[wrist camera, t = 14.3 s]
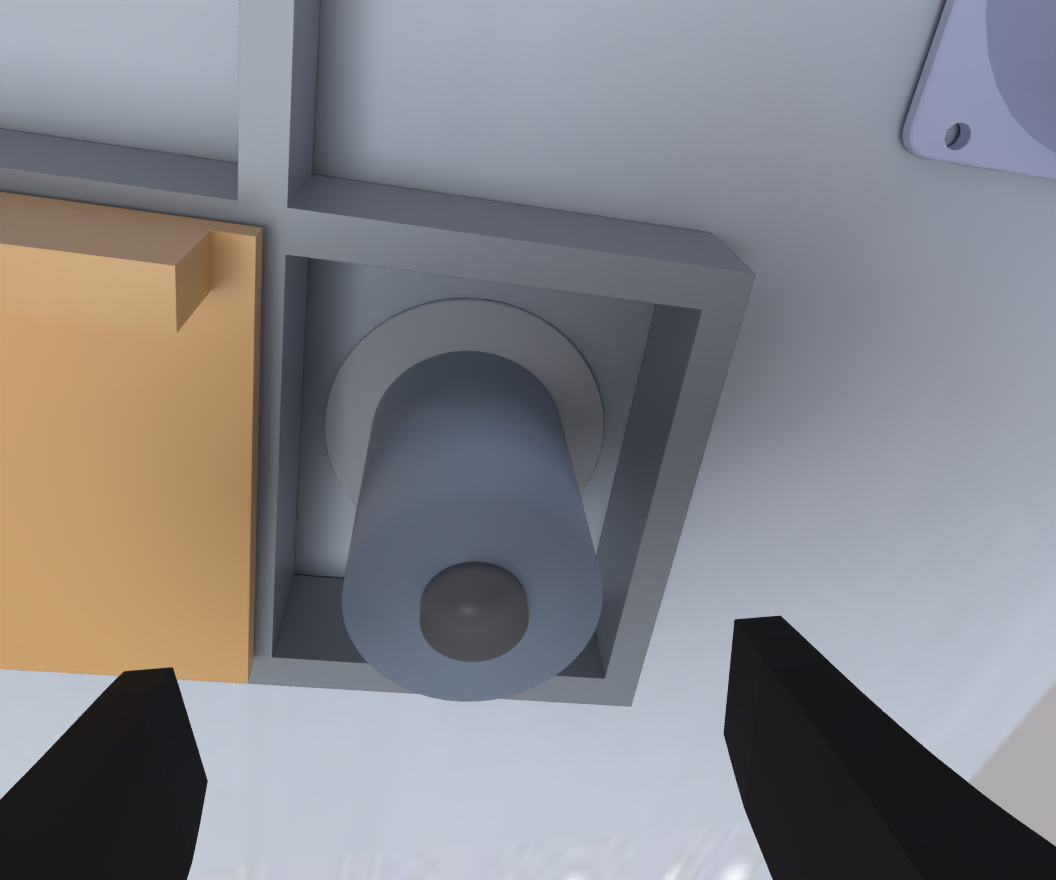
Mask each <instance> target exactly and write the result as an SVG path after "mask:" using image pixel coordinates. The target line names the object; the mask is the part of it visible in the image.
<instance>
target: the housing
mask: <svg viewBox="0 0 1056 880" xmlns="http://www.w3.org/2000/svg"><path fill="white" fill-rule="evenodd" d="M319 17H320V0H239V115H238V163H232V162H225V161H218V160H211V159H204V158H197V157H191V156H184V155H177V154H170V153H163V152H157V151H150V150H143V149H136V148H129V147H122V146H116V145H109V144H102V143H95V142H88V141H82V140H75V139H68V138H61V137H54V136H48V135H41V134H34V133H27V132H20V131H13V130H7V129H0V192H6V193H13V194H21V195H28V196H35V197H43V198H50V199H57V200H65V201H72V202H79V203H87V204H94V205H101V206H109V207H116V208H123V209H131V210H138V211H145V212H153V213H160V214H167V215H174V216H182V217H189V218H196V219H204V220H211V221H218V222H226V223H233V224H240V225H248V226H255V227H262V228H263V247H262V293H261V339H260V385H259V431H258V476H257V522H256V568H255V614H254V660H253V667H252V671H251V674H250V677H249V681H248V684H263V685H280V686H296V687H313V688H330V689H346V690H363V691H380V692H396V693H413V694H418V693H415V692H413V691H410V690H408V689H405V688H403V687H401V686H399V685H397V684H395V683H394V682H392V681H390V680H388V679H387V678H386V677H384V676H383V675H381V674H380V673H379V672H377V671H376V670H375V669H374V668H373V667H372V666H371V665H370V664H369V663H368V662H367V661H366V660H365V659H364V658H363V657H362V655H361V654H360V653H359V652H358V650H357V649H356V647H355V645H354V644H353V642H352V640H351V638H350V636H349V634H348V631H347V629H346V626H345V622H344V617H343V613H342V591H343V584H344V579H340V578H327V577H314V576H302V575H294V556H295V534H296V512H297V491H298V469H299V448H300V426H301V405H302V383H303V362H304V340H305V319H306V297H307V275H308V258H316V259H323V260H331V261H339V262H346V263H354V264H361V265H369V266H376V267H384V268H391V269H399V270H406V271H414V272H422V273H429V274H437V275H444V276H452V277H459V278H467V279H474V280H482V281H489V282H497V283H505V284H512V285H520V286H527V287H535V288H542V289H550V290H557V291H565V292H572V293H580V294H588V295H595V296H603V297H610V298H618V299H625V300H633V301H640V302H648V303H655V304H656V307H655V311H654V316H653V320H652V324H651V328H650V332H649V337H648V341H647V345H646V349H645V353H644V358H643V362H642V366H641V370H640V374H639V379H638V383H637V387H636V391H635V395H634V400H633V404H632V408H631V412H630V416H629V421H628V425H627V429H626V433H625V437H624V442H623V446H622V450H621V454H620V458H619V463H618V467H617V471H616V475H615V479H614V484H613V488H612V492H611V496H610V500H609V505H608V509H607V513H606V517H605V522H604V526H603V530H602V534H601V538H600V543H599V547H598V551H597V555H596V559H597V562H598V566H599V570H600V575H601V580H602V586H603V601H602V609H601V614H600V617H599V620H598V624H597V626H596V628H595V631H594V633H593V635H592V637H591V639H590V640H589V642H588V643H587V645H586V646H585V648H584V649H583V650H582V651H581V653H580V654H579V655H578V656H577V657H576V658H575V660H574V661H572V662H571V663H570V664H569V665H568V666H567V667H566V668H565V669H564V670H562V671H561V672H559V673H558V674H557V675H555V676H554V677H552V678H551V679H549V680H547V681H545V682H544V683H542V684H540V685H538V686H536V687H534V688H531V689H529V690H527V691H524V692H521V693H518V694H515V695H512V696H508V697H503V698H499V699H513V700H530V701H546V702H563V703H580V704H596V705H613V706H630V707H631V705H632V701H633V698H634V694H635V691H636V687H637V684H638V680H639V677H640V673H641V670H642V667H643V663H644V660H645V656H646V653H647V649H648V646H649V642H650V639H651V635H652V632H653V628H654V625H655V621H656V618H657V614H658V611H659V607H660V604H661V600H662V597H663V593H664V590H665V587H666V583H667V580H668V576H669V573H670V569H671V566H672V562H673V559H674V555H675V552H676V548H677V545H678V541H679V538H680V534H681V531H682V527H683V524H684V520H685V517H686V513H687V510H688V506H689V503H690V500H691V496H692V493H693V489H694V486H695V482H696V479H697V475H698V472H699V468H700V465H701V461H702V458H703V454H704V451H705V447H706V444H707V440H708V437H709V433H710V430H711V426H712V423H713V420H714V416H715V413H716V409H717V406H718V402H719V399H720V395H721V392H722V388H723V385H724V381H725V378H726V374H727V371H728V367H729V364H730V360H731V357H732V353H733V350H734V346H735V343H736V339H737V336H738V333H739V329H740V326H741V322H742V319H743V315H744V312H745V308H746V305H747V301H748V298H749V294H750V291H751V287H752V284H753V280H754V277H755V273H754V272H753V271H752V270H751V269H750V268H749V267H748V266H747V265H746V264H744V263H743V262H742V261H741V260H740V259H739V258H738V257H737V256H736V255H735V254H733V253H732V252H731V251H730V250H729V249H728V248H727V247H726V246H725V245H723V244H722V243H721V242H720V241H719V240H718V239H717V238H716V237H715V236H714V235H712V234H711V233H709V232H702V231H695V230H688V229H682V228H675V227H668V226H661V225H654V224H647V223H641V222H634V221H627V220H620V219H613V218H607V217H600V216H593V215H586V214H579V213H572V212H566V211H559V210H552V209H545V208H538V207H532V206H525V205H518V204H511V203H504V202H497V201H491V200H484V199H477V198H470V197H463V196H457V195H450V194H443V193H436V192H429V191H422V190H416V189H409V188H402V187H395V186H388V185H382V184H375V183H368V182H361V181H354V180H347V179H341V178H334V177H327V176H320V175H313V174H312V168H313V146H314V125H315V103H316V82H317V60H318V38H319ZM456 351H480V352H486V353H492V354H495V355H499V356H502V357H505V358H507V359H509V360H512V361H514V362H516V363H518V364H519V365H521V366H523V367H524V368H526V369H527V370H528V371H530V372H531V373H532V374H534V375H535V376H536V377H537V378H538V379H539V380H540V381H541V382H542V383H543V384H544V386H545V387H546V388H547V390H548V391H549V393H550V394H551V396H552V398H553V400H554V402H555V403H556V406H557V409H558V412H559V414H560V418H561V422H562V426H563V430H564V434H565V438H566V442H567V446H568V450H569V453H570V457H571V461H572V465H573V469H574V473H575V477H576V481H577V485H578V488H579V492H580V493H581V492H582V491H583V489H584V487H585V486H586V484H587V483H588V481H589V479H590V477H591V475H592V473H593V471H594V469H595V467H596V464H597V461H598V458H599V454H600V451H601V446H602V440H603V432H604V416H603V409H602V402H601V398H600V395H599V391H598V388H597V385H596V382H595V380H594V378H593V376H592V373H591V371H590V369H589V367H588V365H587V364H586V362H585V361H584V359H583V358H582V356H581V354H580V353H579V352H578V350H577V349H576V348H575V347H574V346H573V345H572V344H571V342H570V341H569V340H568V339H567V338H566V337H565V336H563V335H562V334H561V333H560V332H559V331H558V330H557V329H555V328H554V327H553V326H551V325H550V324H548V323H547V322H545V321H544V320H542V319H541V318H539V317H537V316H535V315H533V314H531V313H529V312H527V311H525V310H523V309H520V308H517V307H514V306H511V305H508V304H505V303H500V302H495V301H490V300H484V299H469V298H462V299H446V300H441V301H435V302H430V303H426V304H423V305H419V306H416V307H413V308H410V309H408V310H406V311H403V312H401V313H399V314H397V315H395V316H393V317H391V318H389V319H388V320H386V321H385V322H383V323H382V324H380V325H379V326H377V327H376V328H374V329H373V330H372V331H371V332H370V333H369V334H367V335H366V336H365V337H364V338H363V339H362V340H361V341H360V342H359V343H358V344H357V345H356V346H355V348H354V349H353V350H352V351H351V352H350V353H349V355H348V356H347V358H346V359H345V361H344V363H343V364H342V366H341V367H340V369H339V371H338V373H337V376H336V378H335V380H334V382H333V385H332V388H331V391H330V395H329V398H328V402H327V407H326V415H325V439H326V446H327V452H328V455H329V458H330V462H331V465H332V468H333V470H334V472H335V474H336V476H337V478H338V480H339V482H340V484H341V485H342V487H343V488H344V490H345V491H346V493H347V494H348V496H349V497H350V498H351V499H352V501H353V502H354V503H355V504H356V505H358V499H359V494H360V488H361V483H362V477H363V471H364V466H365V460H366V455H367V449H368V443H369V438H370V432H371V427H372V421H373V417H374V414H375V410H376V408H377V406H378V404H379V401H380V399H381V398H382V396H383V394H384V393H385V391H386V390H387V388H388V387H389V386H390V385H391V384H392V383H393V381H394V380H395V379H396V378H398V377H399V376H400V375H401V374H402V373H403V372H404V371H406V370H407V369H409V368H410V367H412V366H413V365H415V364H417V363H419V362H421V361H423V360H425V359H427V358H430V357H433V356H436V355H439V354H444V353H448V352H456Z"/></svg>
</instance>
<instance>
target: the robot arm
mask: <svg viewBox="0 0 1056 880" xmlns="http://www.w3.org/2000/svg"><path fill="white" fill-rule="evenodd" d="M956 123H958V124H959V126H960V128H961V129H960V136H959V138H958V139H957V141H956V142H955V143H954V144H952V145H951V146H949V147H947V146H946V143H945V136H946V133H947V131H948V130H949V128H950V127H952V126H953V125H954V124H956ZM902 138H903V143H904V146H905V147H906V148H907V150H908V151H909V152H910V153H913V154H915V155H917V156H920V157H923V158H927V159H933V160H939V161H945V162H951V163H957V164H963V165H969V166H975V167H981V168H987V169H993V170H999V171H1005V172H1011V173H1017V174H1023V175H1029V176H1035V177H1041V178H1047V179H1053V180H1056V0H947V1H946V3H945V6H944V9H943V12H942V15H941V18H940V21H939V24H938V27H937V30H936V33H935V36H934V39H933V42H932V45H931V48H930V51H929V53H928V56H927V59H926V62H925V65H924V68H923V71H922V74H921V77H920V80H919V83H918V86H917V89H916V92H915V95H914V98H913V100H912V103H911V106H910V109H909V112H908V115H907V118H906V121H905V124H904V128H903V134H902ZM724 737H725V740H726V744H727V748H728V752H729V755H730V759H731V763H732V767H733V770H734V774H735V778H736V781H737V785H738V788H739V792H740V795H741V798H742V802H743V805H744V809H745V811H746V814H747V816H748V819H749V821H750V824H751V827H752V829H753V832H754V834H755V837H756V839H757V842H758V844H759V847H760V849H761V851H762V854H763V856H764V859H765V861H766V864H767V866H768V869H769V871H770V874H771V876H772V879H773V880H1056V846H1054V845H1053V844H1051V843H1050V842H1048V841H1047V840H1046V839H1044V838H1043V837H1041V836H1040V835H1039V834H1037V833H1036V832H1034V831H1033V830H1031V829H1030V828H1029V827H1027V826H1026V825H1024V824H1023V823H1021V822H1020V821H1019V820H1017V819H1016V818H1014V817H1013V816H1012V815H1010V814H1009V813H1007V812H1006V811H1005V810H1003V809H1002V808H1001V807H999V806H998V805H997V804H995V803H994V802H993V801H991V800H990V799H989V798H987V797H986V796H985V795H983V794H982V793H981V792H979V791H978V790H977V789H976V788H974V787H973V786H972V785H971V784H969V783H968V782H967V781H966V780H964V779H963V778H962V777H961V776H959V775H958V774H957V773H956V772H954V771H953V770H952V769H951V768H949V767H948V766H947V765H946V764H944V763H943V762H942V761H940V760H939V759H938V758H937V757H936V756H934V755H933V754H932V753H931V752H930V751H928V750H927V749H926V748H925V747H924V746H922V745H921V744H920V743H919V742H918V741H916V740H915V739H914V738H913V737H912V736H911V735H910V734H909V733H907V732H906V731H905V730H904V729H903V728H902V727H901V726H899V725H898V724H897V723H896V722H895V721H894V720H893V719H891V718H890V717H889V716H888V715H887V714H886V713H885V712H883V711H882V710H881V709H880V708H879V707H878V706H877V705H876V704H874V703H873V702H872V701H871V700H870V699H869V698H868V697H867V696H866V695H865V694H863V693H862V692H861V691H860V690H859V689H858V688H857V687H856V686H855V685H854V684H853V683H852V682H850V681H849V680H848V679H847V678H846V677H845V676H844V675H843V674H842V673H841V672H840V671H839V670H838V669H837V668H835V667H834V666H833V665H832V664H831V663H830V662H829V661H828V660H827V659H826V658H825V657H824V656H823V655H822V654H821V653H820V652H819V651H818V650H816V649H815V648H814V647H813V646H812V645H811V644H810V643H809V642H808V641H807V640H806V639H805V638H804V637H803V636H802V635H801V634H800V633H799V632H797V631H796V630H795V629H794V628H793V627H792V626H791V625H790V624H789V623H788V622H787V621H786V620H785V619H783V618H782V617H781V616H771V617H759V618H747V619H735V620H734V631H733V641H732V652H731V662H730V673H729V683H728V694H727V704H726V714H725V725H724ZM207 782H208V781H207V777H206V774H205V771H204V768H203V764H202V761H201V758H200V754H199V751H198V748H197V745H196V741H195V738H194V735H193V731H192V728H191V725H190V722H189V718H188V715H187V712H186V708H185V705H184V702H183V698H182V695H181V692H180V689H179V685H178V682H177V679H176V675H175V672H174V669H173V667H168V668H156V669H144V670H132V671H124V672H123V673H122V674H121V675H120V676H119V677H118V678H117V679H116V680H115V681H114V682H113V683H112V684H111V685H110V686H109V687H108V688H107V689H106V690H105V691H104V692H103V693H102V694H101V695H100V696H99V697H98V698H97V699H96V700H95V701H94V702H93V704H92V705H91V706H90V707H89V708H88V709H87V710H86V711H85V712H84V713H83V714H82V715H81V716H80V717H79V718H78V719H77V720H76V722H75V723H74V724H73V725H72V726H71V727H70V728H69V729H68V730H67V731H66V732H65V733H64V734H63V735H62V736H61V737H60V738H59V739H58V741H57V742H56V743H55V744H54V745H53V746H52V747H51V748H50V749H49V750H48V751H47V752H46V753H45V754H44V755H43V756H42V757H41V758H40V759H39V760H38V762H37V763H36V764H35V765H34V766H33V767H32V768H31V769H30V770H29V771H28V772H27V773H26V774H25V775H24V776H23V777H22V778H21V779H20V780H19V781H18V782H17V783H16V784H15V785H14V786H13V787H12V788H11V789H10V790H9V791H8V792H7V793H6V794H5V795H4V796H3V797H2V798H1V799H0V880H187V877H188V874H189V871H190V867H191V864H192V860H193V855H194V851H195V846H196V841H197V836H198V831H199V826H200V821H201V815H202V810H203V804H204V798H205V793H206V787H207Z"/></svg>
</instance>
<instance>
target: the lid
mask: <svg viewBox="0 0 1056 880" xmlns="http://www.w3.org/2000/svg"><path fill="white" fill-rule="evenodd" d="M262 247H263V228H262V227H255V226H248V225H240V224H233V223H226V222H218V221H211V220H204V219H196V218H189V217H182V216H174V215H167V214H160V213H153V212H145V211H138V210H131V209H123V208H116V207H109V206H101V205H94V204H87V203H79V202H72V201H65V200H57V199H50V198H43V197H35V196H28V195H21V194H13V193H6V192H0V669H10V670H27V671H44V672H60V673H77V674H94V675H110V676H120V675H121V674H122V673H123V672H124V671H132V670H144V669H156V668H168V667H173V669H174V672H175V675H176V679H177V680H194V681H210V682H227V683H244V684H248V681H249V677H250V674H251V671H252V667H253V660H254V614H255V568H256V522H257V476H258V431H259V385H260V339H261V293H262Z"/></svg>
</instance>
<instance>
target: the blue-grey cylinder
mask: <svg viewBox="0 0 1056 880" xmlns="http://www.w3.org/2000/svg"><path fill="white" fill-rule="evenodd" d="M602 601H603V586H602V580H601V575H600V570H599V566H598V562H597V559H596V555H595V551H594V547H593V543H592V539H591V535H590V531H589V527H588V523H587V520H586V516H585V512H584V508H583V504H582V500H581V496H580V492H579V488H578V485H577V481H576V477H575V473H574V469H573V465H572V461H571V457H570V453H569V450H568V446H567V442H566V438H565V434H564V430H563V426H562V422H561V418H560V414H559V412H558V409H557V406H556V403H555V402H554V400H553V398H552V396H551V394H550V393H549V391H548V390H547V388H546V387H545V386H544V384H543V383H542V382H541V381H540V380H539V379H538V378H537V377H536V376H535V375H534V374H532V373H531V372H530V371H528V370H527V369H526V368H524V367H523V366H521V365H519V364H518V363H516V362H514V361H512V360H509V359H507V358H505V357H502V356H499V355H495V354H492V353H486V352H480V351H456V352H448V353H444V354H439V355H436V356H433V357H430V358H427V359H425V360H423V361H421V362H419V363H417V364H415V365H413V366H412V367H410V368H409V369H407V370H406V371H404V372H403V373H402V374H401V375H400V376H399V377H398V378H396V379H395V380H394V381H393V383H392V384H391V385H390V386H389V387H388V388H387V390H386V391H385V393H384V394H383V396H382V398H381V399H380V401H379V404H378V406H377V408H376V410H375V414H374V417H373V421H372V427H371V432H370V438H369V443H368V449H367V455H366V460H365V466H364V471H363V477H362V483H361V488H360V494H359V499H358V505H357V511H356V516H355V522H354V527H353V533H352V539H351V544H350V550H349V556H348V561H347V567H346V572H345V578H344V584H343V591H342V613H343V617H344V622H345V626H346V629H347V631H348V634H349V636H350V638H351V640H352V642H353V644H354V645H355V647H356V649H357V650H358V652H359V653H360V654H361V655H362V657H363V658H364V659H365V660H366V661H367V662H368V663H369V664H370V665H371V666H372V667H373V668H374V669H375V670H376V671H377V672H379V673H380V674H381V675H383V676H384V677H386V678H387V679H388V680H390V681H392V682H394V683H395V684H397V685H399V686H401V687H403V688H405V689H408V690H410V691H413V692H415V693H418V694H421V695H425V696H428V697H432V698H437V699H443V700H450V701H485V700H494V699H499V698H503V697H508V696H512V695H515V694H518V693H521V692H524V691H527V690H529V689H531V688H534V687H536V686H538V685H540V684H542V683H544V682H545V681H547V680H549V679H551V678H552V677H554V676H555V675H557V674H558V673H559V672H561V671H562V670H564V669H565V668H566V667H567V666H568V665H569V664H570V663H571V662H572V661H574V660H575V658H576V657H577V656H578V655H579V654H580V653H581V651H582V650H583V649H584V648H585V646H586V645H587V643H588V642H589V640H590V639H591V637H592V635H593V633H594V631H595V628H596V626H597V624H598V620H599V617H600V614H601V609H602Z"/></svg>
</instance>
